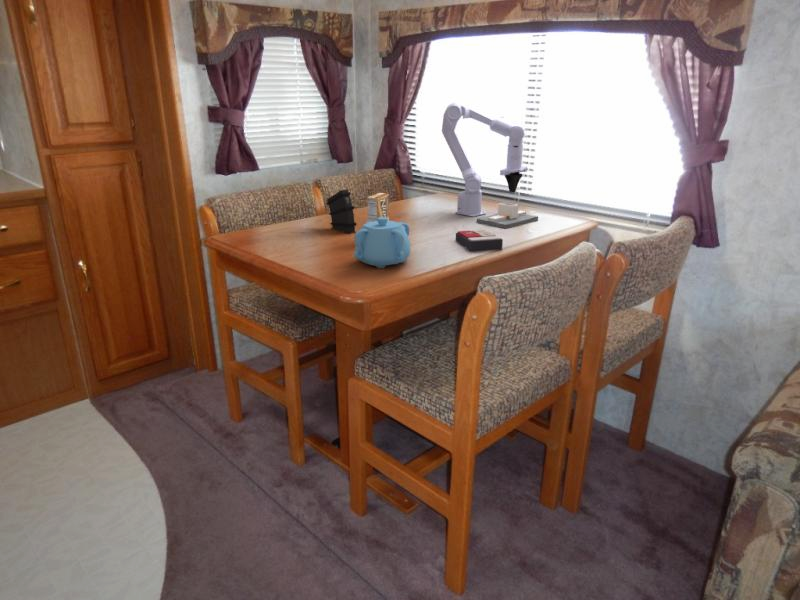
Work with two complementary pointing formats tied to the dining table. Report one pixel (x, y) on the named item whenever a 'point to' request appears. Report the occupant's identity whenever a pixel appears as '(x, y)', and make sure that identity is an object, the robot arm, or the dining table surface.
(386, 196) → the candy box
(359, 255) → the decorative pot
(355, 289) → the dining table surface
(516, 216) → the block
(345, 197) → the black ribbed block
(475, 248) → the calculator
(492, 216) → the rail board
